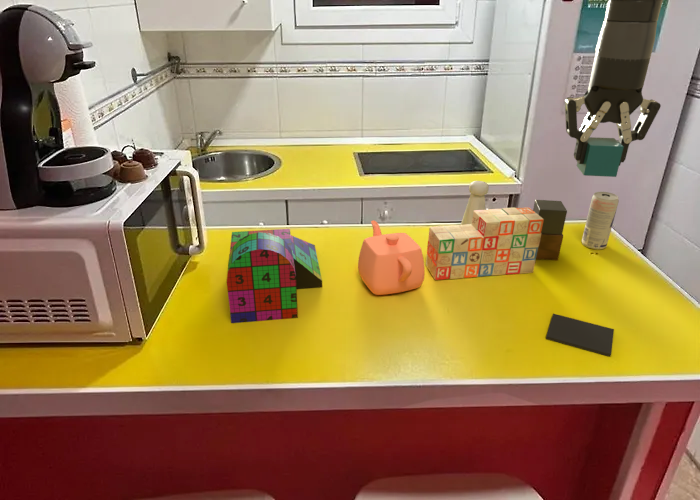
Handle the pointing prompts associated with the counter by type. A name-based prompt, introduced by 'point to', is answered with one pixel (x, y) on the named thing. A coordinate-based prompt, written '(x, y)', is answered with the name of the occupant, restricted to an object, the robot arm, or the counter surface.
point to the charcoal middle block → (551, 215)
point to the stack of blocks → (485, 245)
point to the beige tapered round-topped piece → (475, 200)
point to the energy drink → (600, 220)
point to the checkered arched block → (269, 274)
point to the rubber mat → (581, 334)
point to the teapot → (390, 262)
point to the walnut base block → (549, 246)
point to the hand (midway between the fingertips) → (597, 163)
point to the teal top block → (601, 157)
